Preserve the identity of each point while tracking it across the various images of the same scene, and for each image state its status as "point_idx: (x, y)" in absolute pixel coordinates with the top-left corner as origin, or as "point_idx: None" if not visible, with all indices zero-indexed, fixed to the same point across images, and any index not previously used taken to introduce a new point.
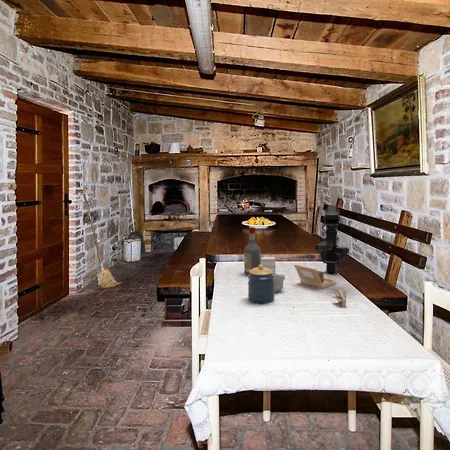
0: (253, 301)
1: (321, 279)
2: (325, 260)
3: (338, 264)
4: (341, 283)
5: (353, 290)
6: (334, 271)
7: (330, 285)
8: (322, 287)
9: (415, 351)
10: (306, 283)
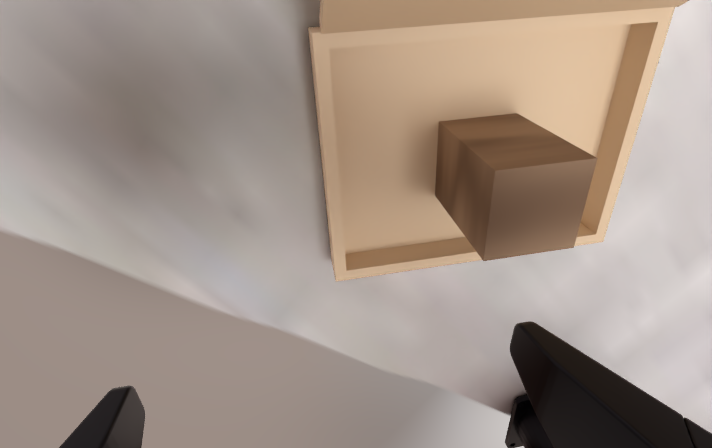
0: None
1: (451, 178)
2: (532, 402)
3: (92, 423)
4: (318, 309)
5: (75, 250)
6: (524, 429)
7: (323, 180)
8: (310, 28)
9: None
10: None
